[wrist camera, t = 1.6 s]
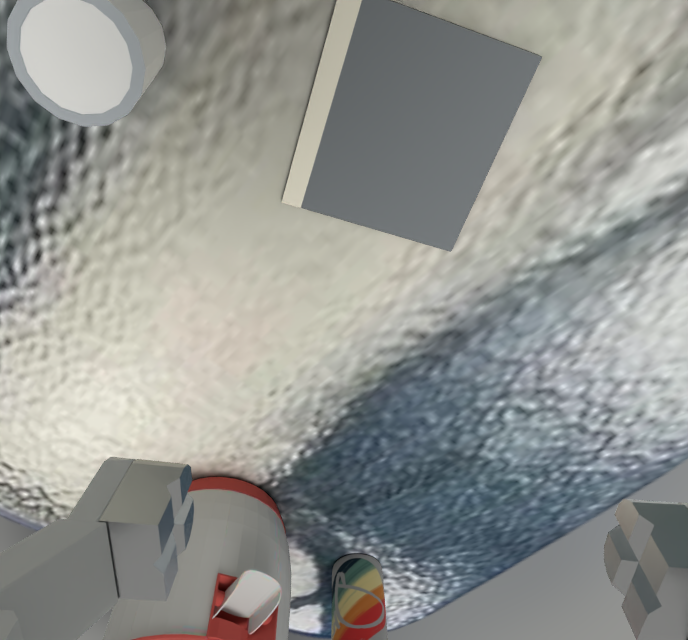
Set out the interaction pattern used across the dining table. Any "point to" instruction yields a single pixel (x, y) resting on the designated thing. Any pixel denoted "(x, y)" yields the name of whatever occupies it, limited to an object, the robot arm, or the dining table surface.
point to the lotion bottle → (358, 599)
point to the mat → (404, 120)
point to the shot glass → (85, 55)
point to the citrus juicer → (220, 573)
